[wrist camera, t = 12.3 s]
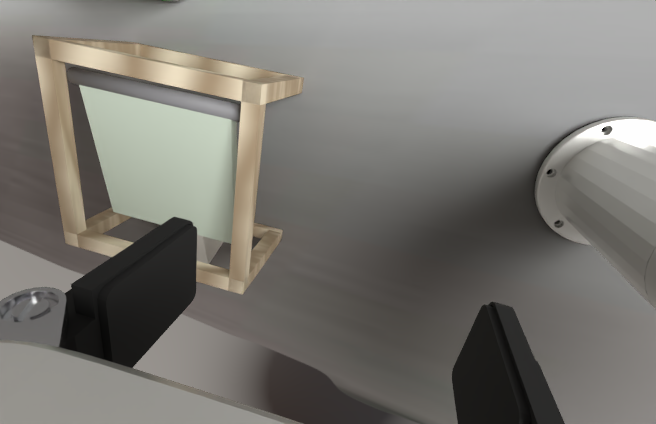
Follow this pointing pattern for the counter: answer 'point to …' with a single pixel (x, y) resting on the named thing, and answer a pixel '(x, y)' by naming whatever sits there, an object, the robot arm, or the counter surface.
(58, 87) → the frame
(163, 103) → the trapdoor
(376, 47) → the counter surface
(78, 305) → the robot arm
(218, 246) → the cube
